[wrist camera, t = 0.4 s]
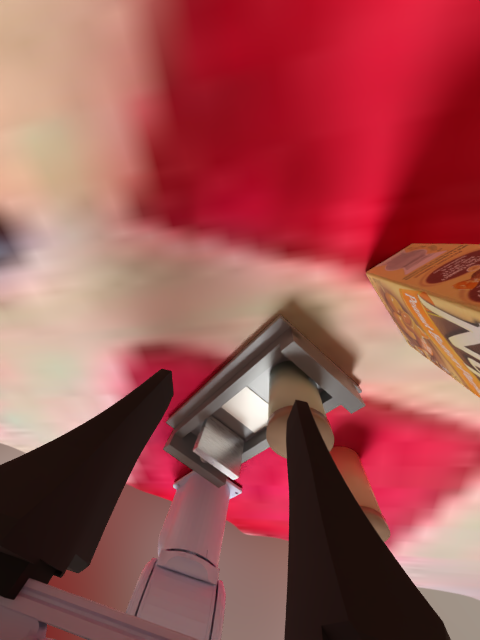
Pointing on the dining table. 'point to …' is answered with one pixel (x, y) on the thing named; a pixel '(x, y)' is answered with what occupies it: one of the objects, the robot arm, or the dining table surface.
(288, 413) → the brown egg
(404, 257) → the candy box
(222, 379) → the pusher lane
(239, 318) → the dining table surface
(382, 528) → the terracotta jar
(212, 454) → the plate
